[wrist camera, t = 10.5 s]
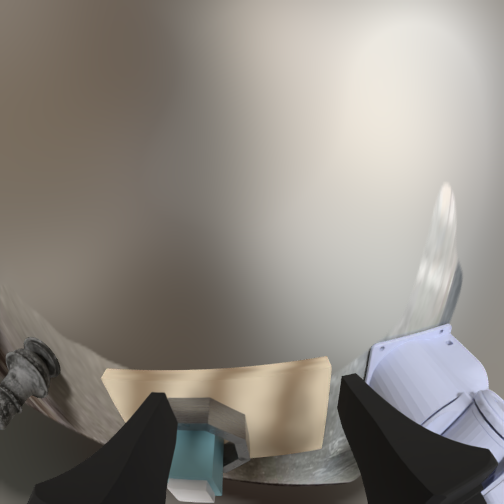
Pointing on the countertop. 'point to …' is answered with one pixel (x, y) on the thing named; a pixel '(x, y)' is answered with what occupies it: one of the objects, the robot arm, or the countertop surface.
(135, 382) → the holder dock
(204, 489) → the connector
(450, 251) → the countertop surface
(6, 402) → the salt shaker
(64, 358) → the countertop surface
